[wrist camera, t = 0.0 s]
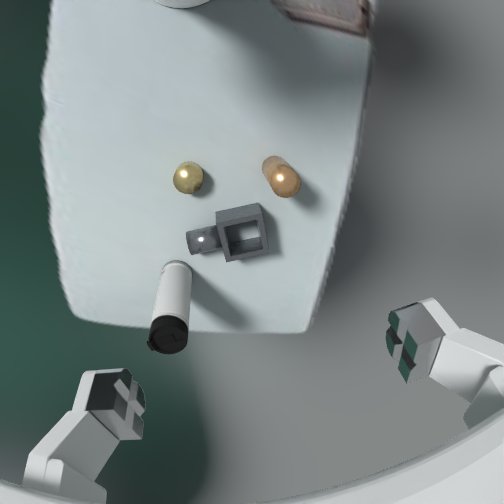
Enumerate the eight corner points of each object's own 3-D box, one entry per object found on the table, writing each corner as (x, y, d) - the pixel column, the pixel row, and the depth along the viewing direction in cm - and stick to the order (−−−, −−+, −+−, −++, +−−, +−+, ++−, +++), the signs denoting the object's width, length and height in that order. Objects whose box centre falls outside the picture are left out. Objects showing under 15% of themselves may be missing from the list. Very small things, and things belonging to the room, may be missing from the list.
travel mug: (155, 264, 61) (139, 333, 44) (186, 256, 61) (178, 325, 44) (167, 288, 64) (156, 360, 47) (196, 281, 64) (193, 352, 47)
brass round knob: (172, 165, 52) (169, 169, 50) (199, 158, 52) (198, 162, 50) (179, 191, 55) (177, 196, 52) (206, 184, 55) (205, 190, 52)
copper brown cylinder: (259, 158, 53) (269, 172, 45) (284, 153, 53) (298, 167, 45) (264, 181, 56) (274, 200, 47) (287, 176, 56) (302, 194, 47)
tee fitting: (184, 219, 57) (182, 230, 53) (258, 202, 57) (262, 213, 53) (195, 255, 61) (194, 269, 57) (265, 240, 62) (269, 252, 57)
